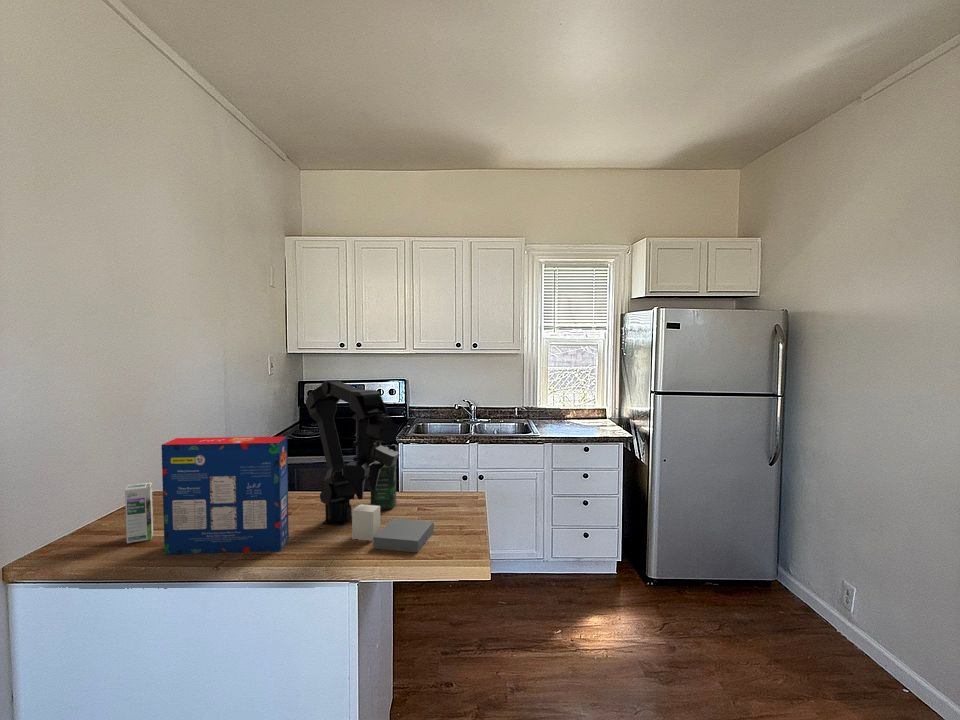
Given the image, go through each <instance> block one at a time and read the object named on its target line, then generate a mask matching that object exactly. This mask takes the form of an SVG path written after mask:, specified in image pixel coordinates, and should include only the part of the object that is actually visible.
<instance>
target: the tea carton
mask: <svg viewBox="0 0 960 720" xmlns="http://www.w3.org/2000/svg"><path fill="white" fill-rule="evenodd" d="M351 516H352V519H351V526H352V528H351V535H352V536H351V537H352V540H354V539H358V540H357V541H366V540H369V541H368V542H373V537H374V536H375V535H376V534H377V533H378V532H379V531H380V530H381V510H380V506H376V505H371V504H359V505H357V506H356V507H354V508H353V509H351Z"/></svg>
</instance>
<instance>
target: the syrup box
mask: <svg viewBox="0 0 960 720" xmlns="http://www.w3.org/2000/svg"><path fill="white" fill-rule="evenodd" d="M152 484H153V483H152V482H151V481H150V482H145V483H144V482H143V483H135V484H134V483H133V484H127V486H126V488H125V490H124V500H125V502H124V504H125V505H124V506H125V522H126V523H125V524H126V525H125V527H126V529H125V530H126V544H131V543H137V542H138V543H139V542H145V541H152V539H153V535H154V520H153V519H154V516H153V515H154V513H153V488H152V487H153V485H152Z"/></svg>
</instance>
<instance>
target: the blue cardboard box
mask: <svg viewBox="0 0 960 720" xmlns="http://www.w3.org/2000/svg"><path fill="white" fill-rule="evenodd" d="M160 448H161V469H162V470H161V474H162V475H161V478H162V512H163V539H164V540H163V545H164V556H181V555H182V556H183V555H184V556H185V555H186V556H187V555H209V554H211V555H213V554H235V553H262V552H266V553H267V552H281V551H282V550H283V548H284V547H285V545H286V544H287V542H288V540H289V539H290V537H289V536H290V535H289V534H290V533H289V532H290V531H289V530H290V529H289V527H290V526H289V477H288V476H289V472H288V467H289V466H288V436H287V435H285V436H237V437H236V436H230V437H229V436H228V437H227V436H223V437H221V436H220V437H176V438H173V439H172V440H169V441H166V442H165V443H162V444H161V447H160Z"/></svg>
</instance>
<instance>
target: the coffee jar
mask: <svg viewBox="0 0 960 720" xmlns="http://www.w3.org/2000/svg"><path fill="white" fill-rule="evenodd" d="M389 447H390V446H389ZM389 447H388V446H387V448H389ZM396 503H397V462H396V463H395V464H394V465H392V467H388V466H383V467H382V468H381V471H380V474H379V478H378V481H377V485H376V488H375V489H372V488H371V487H370V505H376V506H380V511H384V510H387V509H392V508H394V506H395V505H396Z"/></svg>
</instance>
